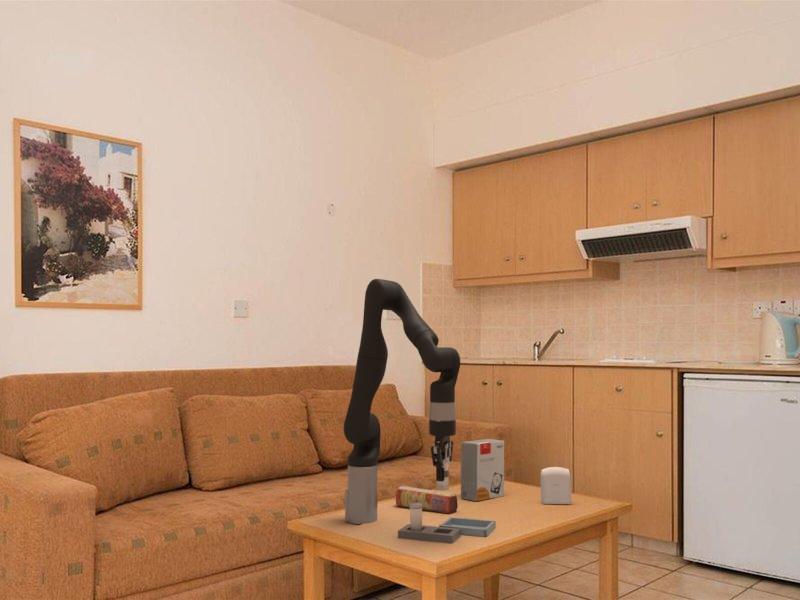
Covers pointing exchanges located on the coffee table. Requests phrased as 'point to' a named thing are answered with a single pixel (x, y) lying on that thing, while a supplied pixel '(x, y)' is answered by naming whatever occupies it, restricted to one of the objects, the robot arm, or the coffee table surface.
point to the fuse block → (430, 534)
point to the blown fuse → (444, 484)
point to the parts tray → (470, 526)
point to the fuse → (416, 516)
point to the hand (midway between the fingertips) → (442, 479)
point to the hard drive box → (482, 469)
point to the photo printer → (555, 486)
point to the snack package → (427, 499)
